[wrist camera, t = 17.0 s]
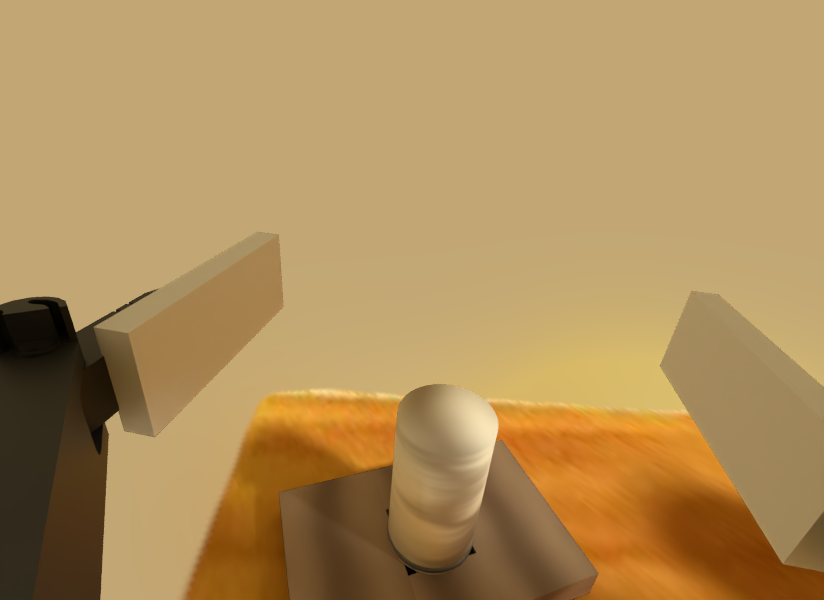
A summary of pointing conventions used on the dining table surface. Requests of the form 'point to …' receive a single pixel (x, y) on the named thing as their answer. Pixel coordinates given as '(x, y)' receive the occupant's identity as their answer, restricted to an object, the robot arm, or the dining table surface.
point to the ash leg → (439, 475)
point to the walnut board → (423, 593)
